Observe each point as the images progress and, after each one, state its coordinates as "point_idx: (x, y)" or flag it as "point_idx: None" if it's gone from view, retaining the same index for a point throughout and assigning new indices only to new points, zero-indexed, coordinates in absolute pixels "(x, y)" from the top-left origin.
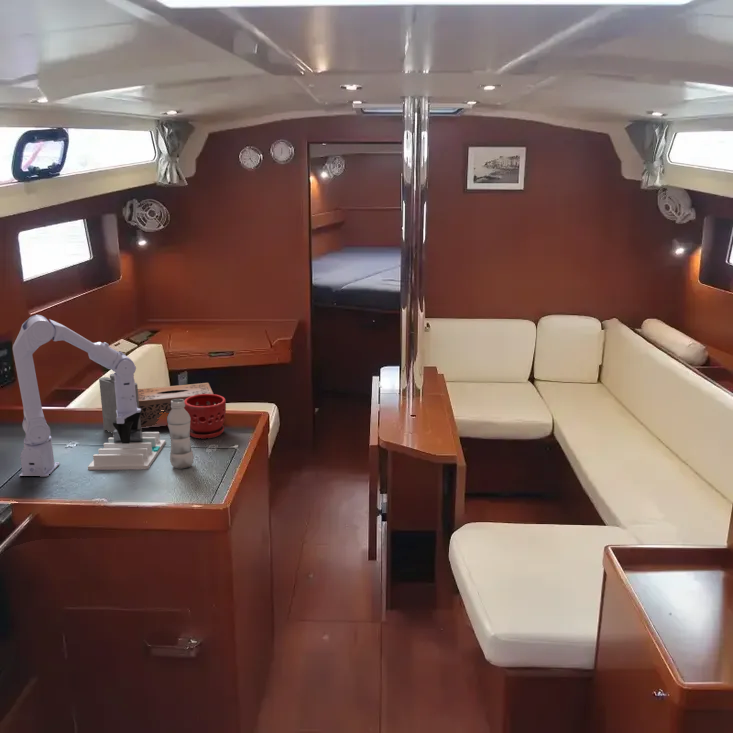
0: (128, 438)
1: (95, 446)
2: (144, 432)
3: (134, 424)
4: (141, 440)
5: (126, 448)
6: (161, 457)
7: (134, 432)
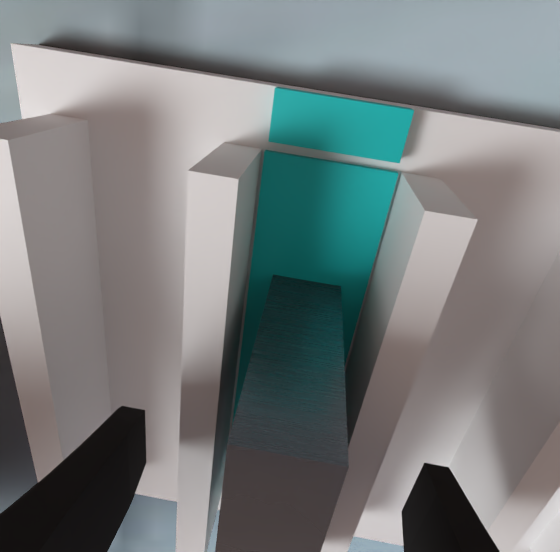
0: (482, 536)
1: (141, 522)
2: (16, 319)
3: (66, 547)
4: (308, 339)
5: (540, 465)
6: (515, 43)
7: (331, 510)
